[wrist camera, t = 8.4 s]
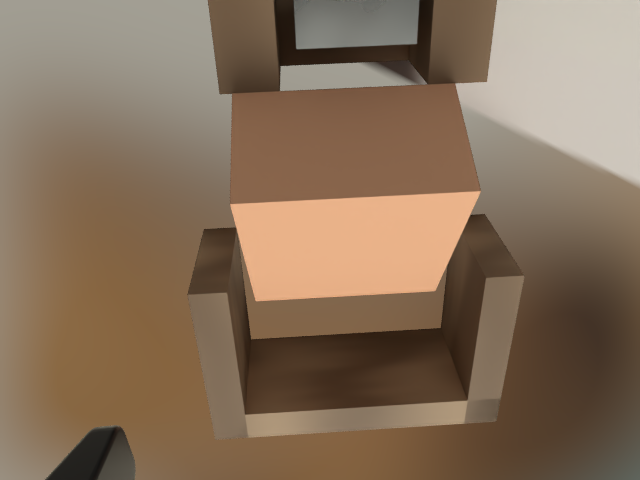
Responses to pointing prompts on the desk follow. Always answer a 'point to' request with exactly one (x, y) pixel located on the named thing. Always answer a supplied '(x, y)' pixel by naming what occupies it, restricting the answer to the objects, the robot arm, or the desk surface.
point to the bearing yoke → (280, 47)
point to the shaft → (355, 23)
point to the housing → (357, 351)
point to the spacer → (349, 188)
